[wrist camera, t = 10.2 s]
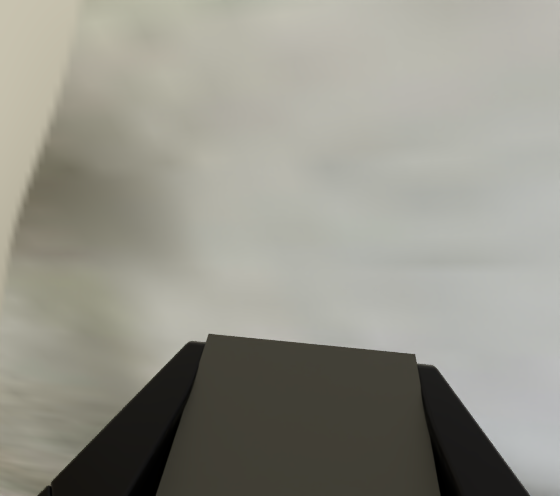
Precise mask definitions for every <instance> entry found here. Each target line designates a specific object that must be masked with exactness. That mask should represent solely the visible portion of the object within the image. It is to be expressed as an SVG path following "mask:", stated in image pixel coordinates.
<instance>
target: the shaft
mask: <svg viewBox="0 0 560 496" xmlns="http://www.w3.org/2000/svg"><path fill="white" fill-rule="evenodd" d="M156 496H440V491H439V485H438V479H437V474H436V468H435V463H434V457H433V451H432V446H431V440H430V435H429V431H428V428H427V424H426V419H425V414H424V408H423V403H422V396H421V384H420V379H419V373H418V368H417V362H416V357H415V354H407V353H397V352H387V351H377V350H367V349H357V348H346V347H336V346H326V345H316V344H306V343H296V342H286V341H275V340H265V339H255V338H245V337H235V336H225V335H215V334H209V335H208V338H207V341H206V344H205V347H204V350H203V353H202V356H201V359H200V362H199V368H198V371H197V375H196V378H195V381H194V385H193V388H192V391H191V393H190V396H189V399H188V401H187V404H186V406H185V408H184V411H183V414H182V417H181V420H180V423H179V426H178V429H177V432H176V435H175V438H174V441H173V444H172V448H171V451H170V454H169V457H168V460H167V463H166V466H165V469H164V472H163V475H162V478H161V481H160V484H159V487H158V490H157V493H156Z"/></svg>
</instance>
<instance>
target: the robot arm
mask: <svg viewBox="0 0 560 496" xmlns="http://www.w3.org/2000/svg"><path fill="white" fill-rule="evenodd" d="M205 344H206V342H197V341H190V342H188V343H187V344H186V345H185V346H184V347H183V348H182V349H181V350H180V351H179V352H178V353H177V354H176V355H175V356H174V357H173V358H172V359H171V360H170V361H169V362H168V363H167V364H166V365H165V366H164V367H163V368H162V369H161V370H160V371H159V372H158V373H157V374H156V375H155V376H154V377H153V378H152V379H151V381H150V382H149V383H148V384H147V385H146V386H145V387H144V388H143V389H142V390H141V391H140V392H139V393H138V394H137V395H136V396H135V397H134V398H133V399H132V400H131V401H130V402H129V403H128V404H127V405H126V406H125V407H124V408H123V409H122V410H121V411H120V412H119V413H118V414H117V415H116V416H115V417H114V418H113V419H112V420H111V421H110V422H109V423H108V424H107V425H106V426H105V427H104V429H103V430H102V431H101V432H100V433H99V434H98V435H97V436H96V437H95V438H94V439H93V440H92V441H91V442H90V443H89V444H88V445H87V446H86V447H85V448H84V449H83V450H82V451H81V452H80V453H79V454H78V455H77V456H76V457H75V458H74V459H73V460H72V461H71V462H70V463H69V464H68V465H67V466H66V467H65V468H64V469H63V470H62V471H61V472H60V473H59V474H58V476H57V477H56V478H55V479H54V480H53V481H52V482H51V486H46V487H45V488H44V489H43V491H42V492H41V493H40V494H39V495H38V496H156V493H157V490H158V487H159V484H160V481H161V478H162V475H163V472H164V469H165V466H166V463H167V460H168V457H169V454H170V451H171V448H172V444H173V441H174V438H175V435H176V432H177V429H178V426H179V423H180V420H181V417H182V414H183V411H184V408H185V406H186V404H187V401H188V399H189V396H190V393H191V391H192V388H193V385H194V381H195V378H196V375H197V371H198V368H199V362H200V359H201V356H202V353H203V350H204V347H205ZM417 368H418V373H419V379H420V384H421V396H422V403H423V408H424V414H425V419H426V424H427V428H428V431H429V435H430V440H431V446H432V451H433V457H434V463H435V468H436V474H437V479H438V485H439V491H440V496H530V495H529V493H528V492H527V491H526V489H525V488H524V486H523V485H522V484H521V482H520V481H519V480H518V478H517V477H516V476H515V474H514V473H513V471H512V470H511V469H510V467H509V466H508V465H507V463H506V462H505V461H504V459H503V458H502V456H501V455H500V454H499V452H498V451H497V450H496V448H495V447H494V446H493V444H492V443H491V441H490V440H489V439H488V437H487V436H486V435H485V433H484V432H483V431H482V429H481V428H480V426H479V425H478V424H477V422H476V421H475V420H474V418H473V417H472V416H471V414H470V413H469V411H468V410H467V409H466V407H465V406H464V405H463V403H462V402H461V401H460V399H459V398H458V396H457V395H456V394H455V392H454V391H453V390H452V388H451V387H450V386H449V384H448V383H447V381H446V380H445V379H444V377H443V376H442V375H441V373H440V372H439V371H438V369H437V368H436V367H435V366H433V365H426V364H417Z"/></svg>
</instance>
